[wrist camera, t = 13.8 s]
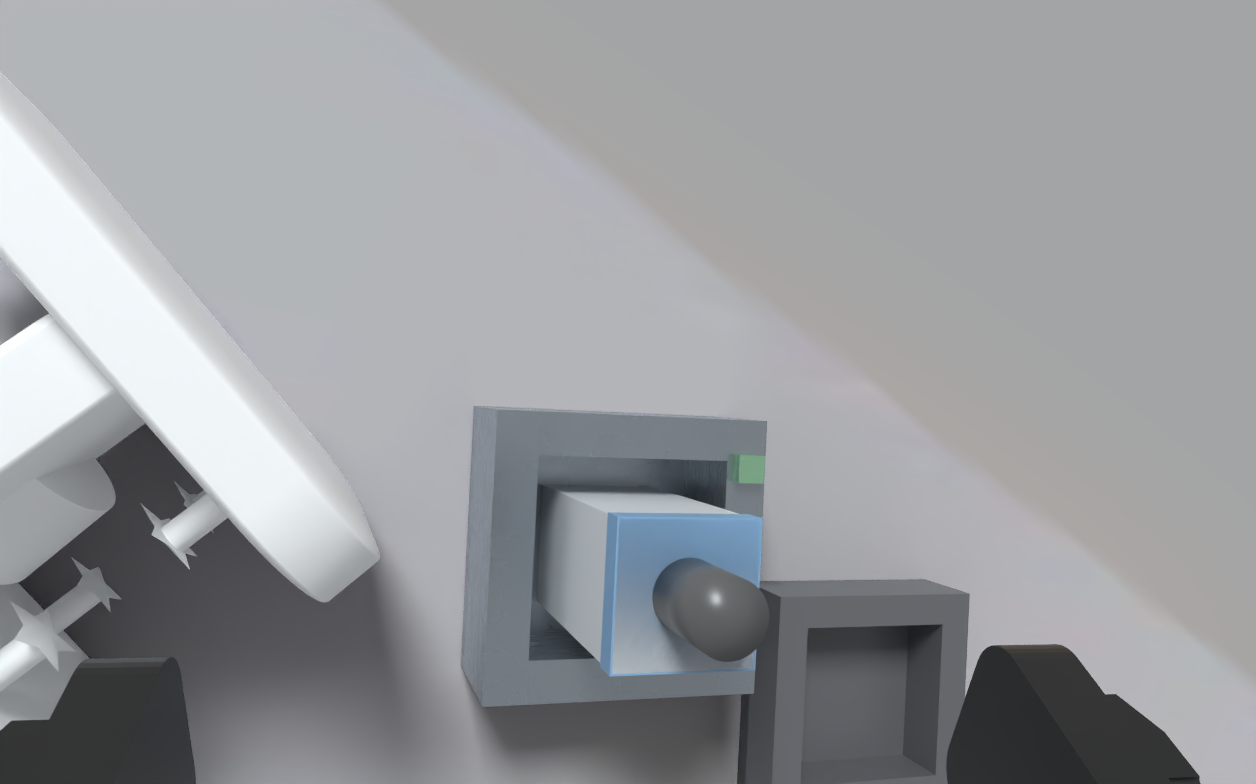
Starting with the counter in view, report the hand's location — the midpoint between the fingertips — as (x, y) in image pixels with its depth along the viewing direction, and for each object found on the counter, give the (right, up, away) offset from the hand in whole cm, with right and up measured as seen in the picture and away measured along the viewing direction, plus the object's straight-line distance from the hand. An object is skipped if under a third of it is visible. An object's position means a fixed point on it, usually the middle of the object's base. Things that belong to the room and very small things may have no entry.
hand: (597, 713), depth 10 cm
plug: (-1, -1, +21) cm, 21 cm away
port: (-1, -1, +21) cm, 22 cm away
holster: (+7, -7, +24) cm, 26 cm away
